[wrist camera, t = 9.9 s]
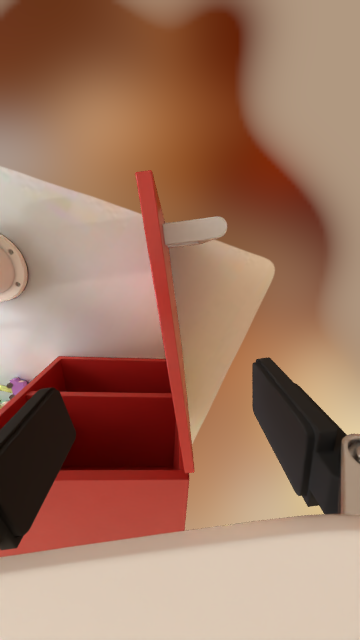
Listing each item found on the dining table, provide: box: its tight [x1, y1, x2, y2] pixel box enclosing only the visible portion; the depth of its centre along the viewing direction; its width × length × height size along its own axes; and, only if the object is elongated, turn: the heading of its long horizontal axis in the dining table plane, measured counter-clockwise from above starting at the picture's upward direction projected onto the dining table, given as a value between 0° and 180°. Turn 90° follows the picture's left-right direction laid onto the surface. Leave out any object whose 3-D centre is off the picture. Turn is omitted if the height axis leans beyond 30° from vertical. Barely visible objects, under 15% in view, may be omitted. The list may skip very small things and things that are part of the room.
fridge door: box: [135, 170, 227, 473], centre depth 27 cm, size 7×26×24 cm, turn 7°
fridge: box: [0, 356, 189, 557], centre depth 33 cm, size 18×26×24 cm
